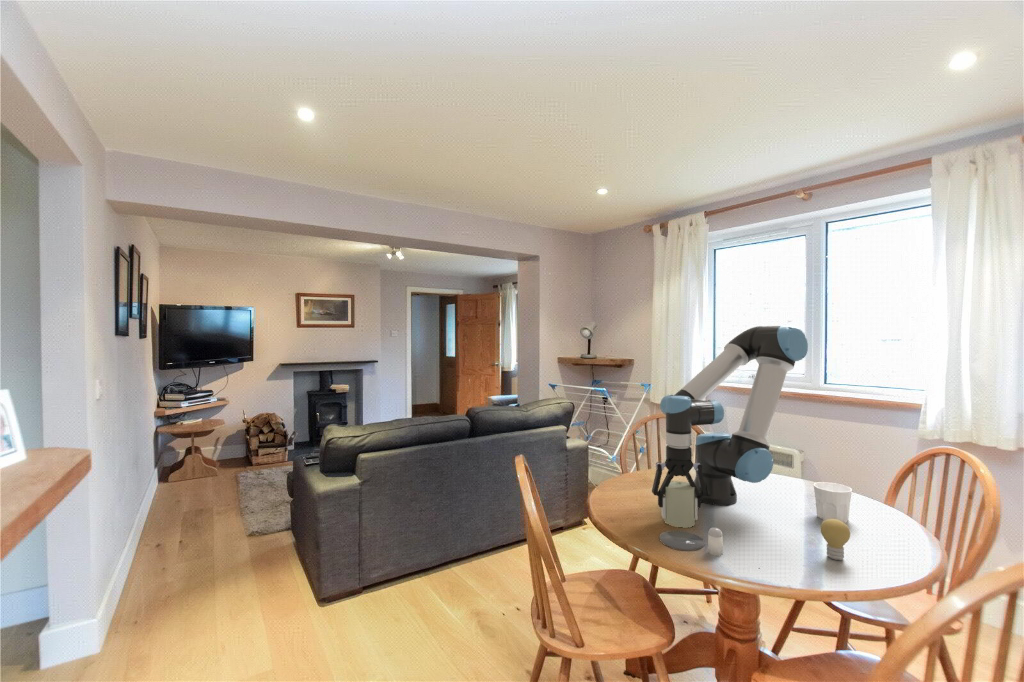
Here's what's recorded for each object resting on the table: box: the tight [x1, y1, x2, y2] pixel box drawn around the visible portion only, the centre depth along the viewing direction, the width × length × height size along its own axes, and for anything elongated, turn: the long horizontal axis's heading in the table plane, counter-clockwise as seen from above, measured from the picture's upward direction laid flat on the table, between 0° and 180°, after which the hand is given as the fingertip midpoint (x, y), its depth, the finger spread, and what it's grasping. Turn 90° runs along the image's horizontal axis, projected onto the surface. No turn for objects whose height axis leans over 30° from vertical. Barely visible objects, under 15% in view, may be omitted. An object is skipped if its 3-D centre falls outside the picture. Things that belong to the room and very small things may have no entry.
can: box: [663, 480, 696, 529], centre depth 149 cm, size 9×9×12 cm
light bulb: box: [820, 519, 851, 561], centre depth 124 cm, size 6×6×10 cm
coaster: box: [659, 530, 705, 552], centre depth 135 cm, size 12×12×1 cm
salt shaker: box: [707, 527, 724, 557], centre depth 127 cm, size 4×4×7 cm
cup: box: [813, 481, 853, 524], centre depth 150 cm, size 10×10×10 cm
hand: (679, 517), depth 149 cm, fingers closed on can, 9 cm apart
